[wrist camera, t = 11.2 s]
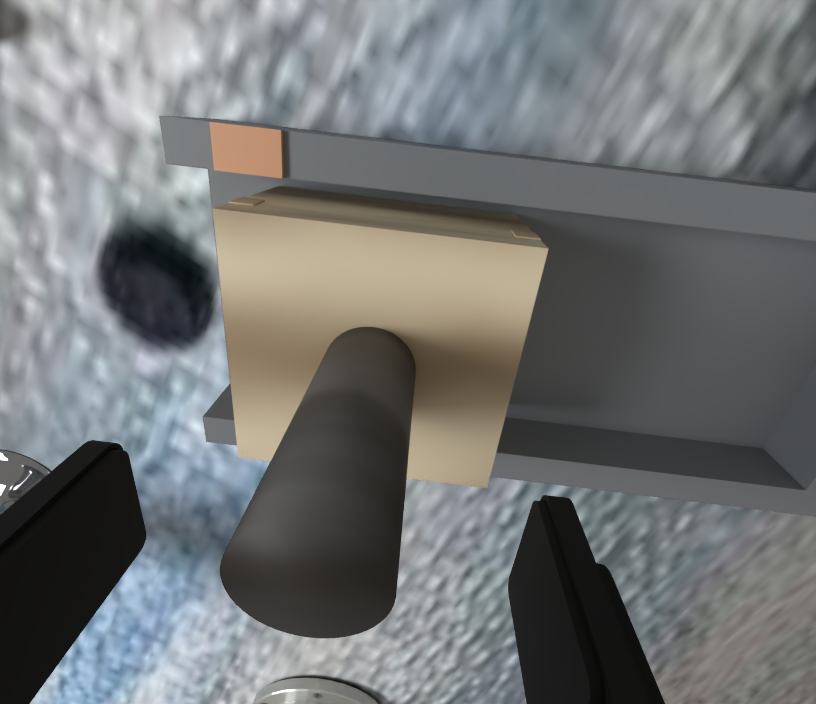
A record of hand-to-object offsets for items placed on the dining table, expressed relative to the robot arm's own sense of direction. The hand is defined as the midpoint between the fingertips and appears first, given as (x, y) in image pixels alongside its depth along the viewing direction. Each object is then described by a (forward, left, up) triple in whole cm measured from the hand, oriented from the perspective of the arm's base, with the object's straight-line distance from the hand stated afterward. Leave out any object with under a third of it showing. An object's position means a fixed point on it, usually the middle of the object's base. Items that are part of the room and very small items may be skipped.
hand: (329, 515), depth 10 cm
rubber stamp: (+1, 0, -12) cm, 12 cm away
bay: (+1, -7, -13) cm, 15 cm away
